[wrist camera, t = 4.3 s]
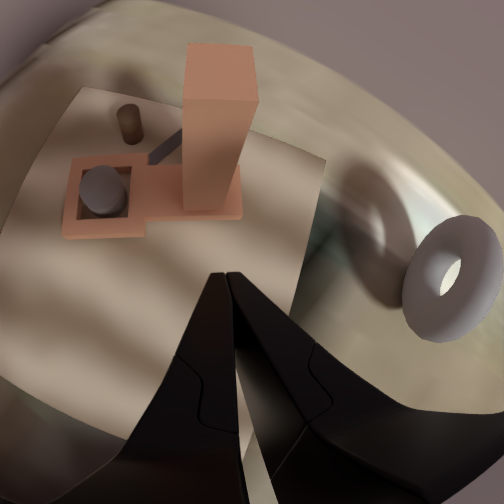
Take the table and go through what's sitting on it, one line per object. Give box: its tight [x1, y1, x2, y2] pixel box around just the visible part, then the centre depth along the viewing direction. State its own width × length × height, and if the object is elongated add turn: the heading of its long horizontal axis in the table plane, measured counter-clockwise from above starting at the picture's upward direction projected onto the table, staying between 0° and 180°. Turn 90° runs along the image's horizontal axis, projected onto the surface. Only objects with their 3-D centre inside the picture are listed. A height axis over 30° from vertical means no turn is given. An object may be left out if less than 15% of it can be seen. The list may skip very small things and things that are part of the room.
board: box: [0, 87, 326, 461], centre depth 17 cm, size 24×22×4 cm
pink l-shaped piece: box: [61, 43, 259, 240], centre depth 14 cm, size 12×6×11 cm, turn 94°
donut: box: [402, 215, 504, 343], centre depth 19 cm, size 10×4×10 cm, turn 156°
